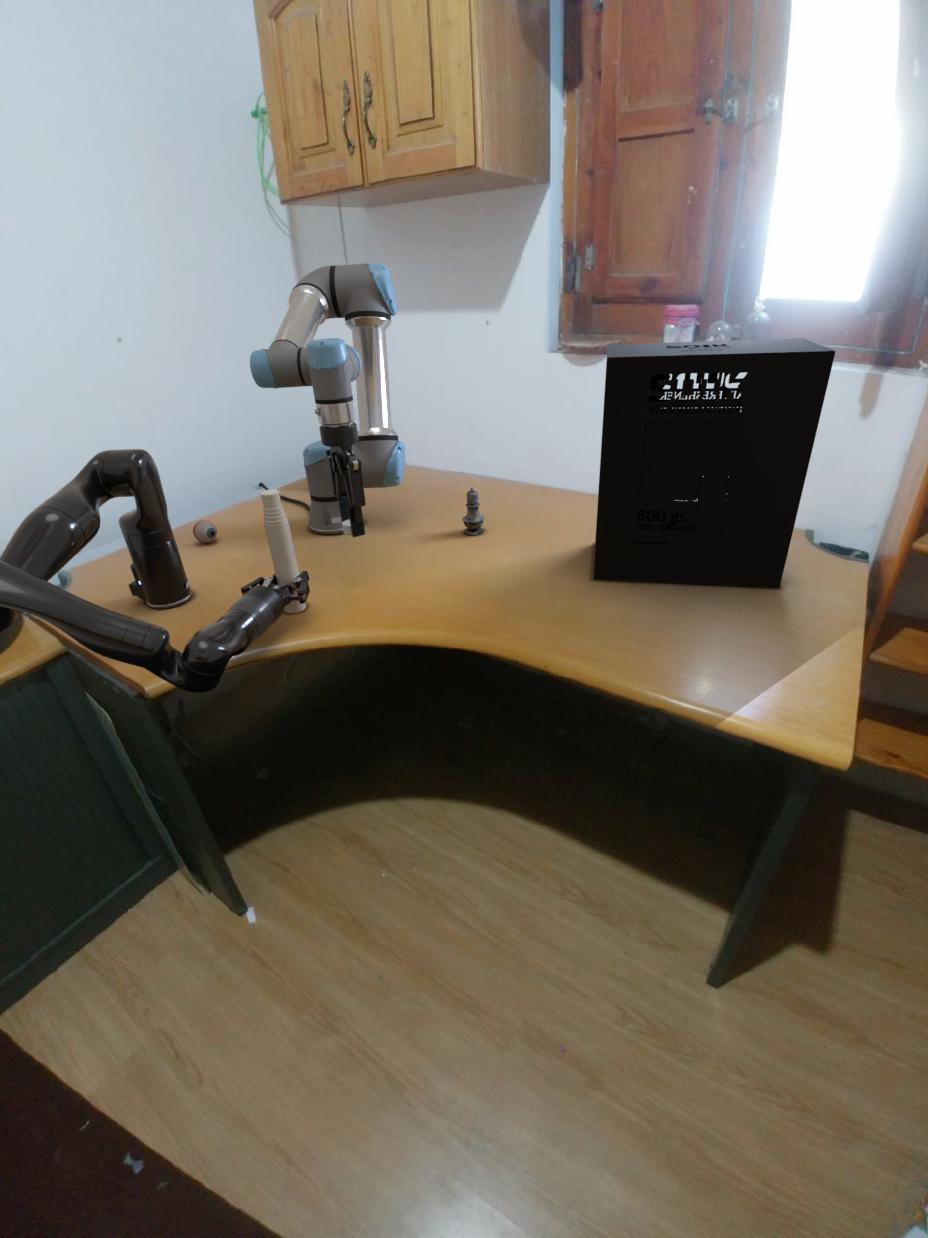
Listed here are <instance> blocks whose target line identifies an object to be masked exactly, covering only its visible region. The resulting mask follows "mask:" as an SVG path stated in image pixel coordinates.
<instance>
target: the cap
mask: <svg viewBox="0 0 928 1238" xmlns="http://www.w3.org/2000/svg"><path fill="white" fill-rule="evenodd" d="M342 526H343V532H344V533H343V535H345V536H351V537H352V530H351V524H350V519H348V520H345V521H343V522H342Z"/></svg>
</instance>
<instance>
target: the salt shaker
mask: <svg viewBox="0 0 928 1238" xmlns="http://www.w3.org/2000/svg"><path fill="white" fill-rule="evenodd" d="M465 507H466V511H467V512H466V515H465V516H463V517H462V518H461V520H462V522H463V524H464V527H465V529H464V530H463V533H464V534H465V535H468V536H477V535H481V534H483V533H484V531H485V530H484V528H482V526H483V524H484V520H485V516H484V515H481V513H480V503H479V494H478V492H477V490H474V488H473V487H470V490H469V491H467V492H466V503H465Z"/></svg>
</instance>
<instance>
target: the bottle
mask: <svg viewBox="0 0 928 1238" xmlns="http://www.w3.org/2000/svg"><path fill="white" fill-rule="evenodd" d="M280 495H281V493H280V490H279V489H276V488H275V489H273V488H269V490H266V489H264V490H263V491H261V492H260V497H261V501H262V502H261V503H262V506H263V507H262V517H263V526H264V530H265V535H266V539H267V543H268V548H269V551H270V556H271V560H272V561H271V562H272V565H273V569H274V573H275V574H276V578H277V583H278V585H280V584H282V583H284V582H286V581H288V580H289V581H292V580H294V579H296V577H297V576H298V575H299V574H300V569H299V565H298V560H297V559H298V558H297V554H296V550H295V545H294V541H293V535H292V531H291V526H290V521H289V519H288V515H287V512H286V510H285V508H284V505H283V503H282V499H281V498H280ZM295 588H297V586H296V584H295ZM306 608H307V603H304V604H300V602H299V601H298V600H296V601H292V602H291V603H290V604H287V605H286V606H285V607H284V610H283V612H285V613H287V614H297V613H301V612H302V611H304V610H305V609H306Z"/></svg>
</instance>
